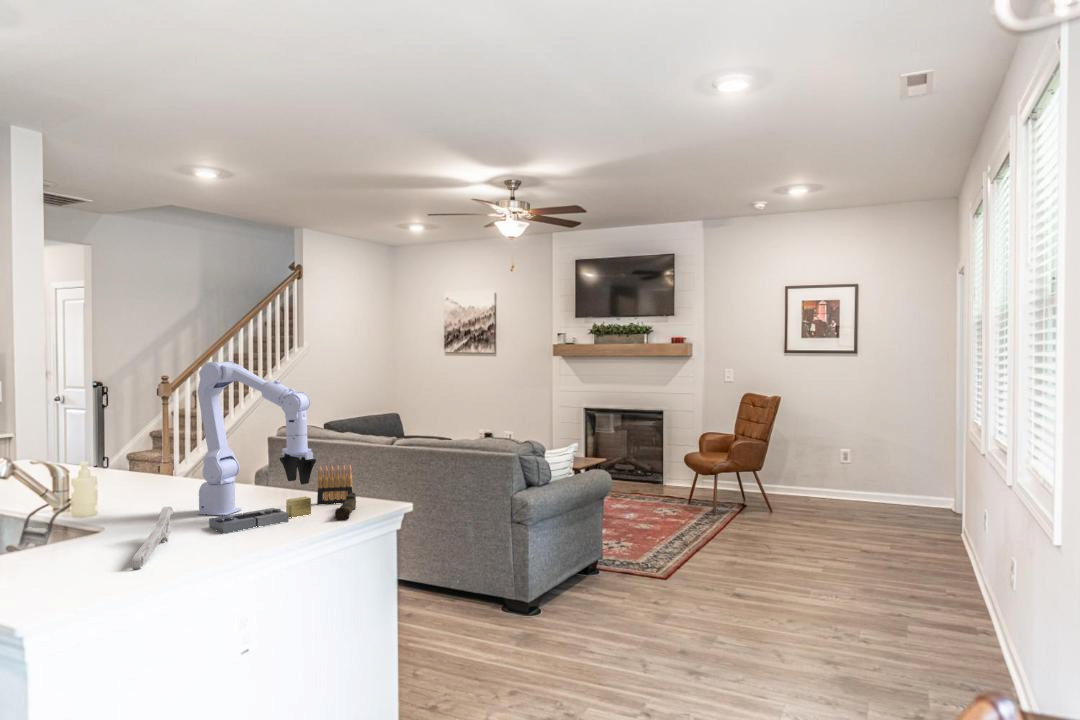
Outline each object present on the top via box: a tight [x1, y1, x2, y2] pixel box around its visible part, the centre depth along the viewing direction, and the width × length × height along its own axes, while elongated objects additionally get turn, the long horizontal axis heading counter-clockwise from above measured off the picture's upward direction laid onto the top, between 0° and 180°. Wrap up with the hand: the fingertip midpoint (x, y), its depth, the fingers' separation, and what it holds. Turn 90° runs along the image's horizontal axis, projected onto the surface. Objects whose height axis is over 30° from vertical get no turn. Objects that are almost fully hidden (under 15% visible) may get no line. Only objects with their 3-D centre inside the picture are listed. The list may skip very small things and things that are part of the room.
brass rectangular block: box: [285, 496, 312, 519], centre depth 216 cm, size 6×3×5 cm, turn 136°
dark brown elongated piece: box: [334, 492, 357, 522], centre depth 219 cm, size 19×4×5 cm, turn 2°
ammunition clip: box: [316, 463, 354, 505], centre depth 232 cm, size 11×2×12 cm, turn 102°
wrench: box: [131, 506, 174, 570], centre depth 180 cm, size 8×2×30 cm
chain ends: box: [208, 507, 289, 534], centre depth 205 cm, size 18×9×3 cm, turn 136°
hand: (298, 482), depth 215 cm, fingers open, 7 cm apart
